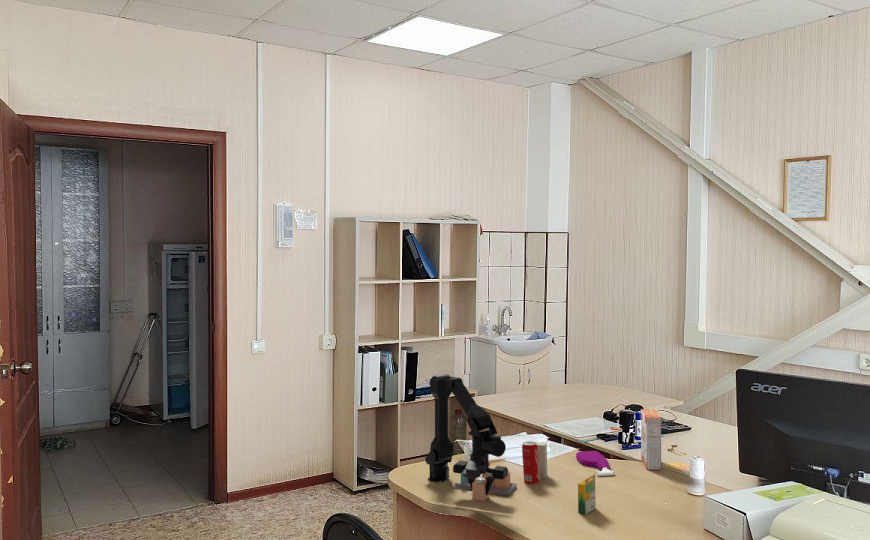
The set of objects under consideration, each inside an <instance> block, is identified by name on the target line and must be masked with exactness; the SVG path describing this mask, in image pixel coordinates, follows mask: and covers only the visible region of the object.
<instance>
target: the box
mask: <svg viewBox="0 0 870 540" xmlns="http://www.w3.org/2000/svg"><path fill="white" fill-rule="evenodd" d="M535 442H536V444H537V447H538V462H539V477H540V479H541V478H542V479H547V478H548V449H547V447H548V445H547V442H539V441H535Z"/></svg>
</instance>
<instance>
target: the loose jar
mask: <svg viewBox="0 0 870 540" xmlns="http://www.w3.org/2000/svg"><path fill="white" fill-rule="evenodd" d="M471 493H472V494H471V497H472V500H478V501H486V500H487V499H488V498H489V496H490V493H488V495H487V496H486V479H485V478H482V477H478V478H476V479H475V481H474V482H472V490H471Z"/></svg>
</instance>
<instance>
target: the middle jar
mask: <svg viewBox="0 0 870 540" xmlns="http://www.w3.org/2000/svg"><path fill="white" fill-rule="evenodd" d="M492 468H493V467H492ZM494 468H495V467H494ZM494 468H493V469H494ZM487 476H488V474H487V473H485V474H481V478H486V477H487ZM491 488H495V487H494V481H493V483H492V486H491Z"/></svg>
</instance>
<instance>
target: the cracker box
mask: <svg viewBox="0 0 870 540" xmlns="http://www.w3.org/2000/svg"><path fill="white" fill-rule="evenodd" d="M640 439H641V440H640V445H641V447H640V449H641V451H640V452H641V453H640V454H641V457H640V459H641V461H642V462H643V464H644V466H645V469H646V470H647V471H662V417H661V416H660V415H659V414H658V412H657V411H656V409H651V408H649V409H647V408H646V409H645V408H641V409H640Z"/></svg>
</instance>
